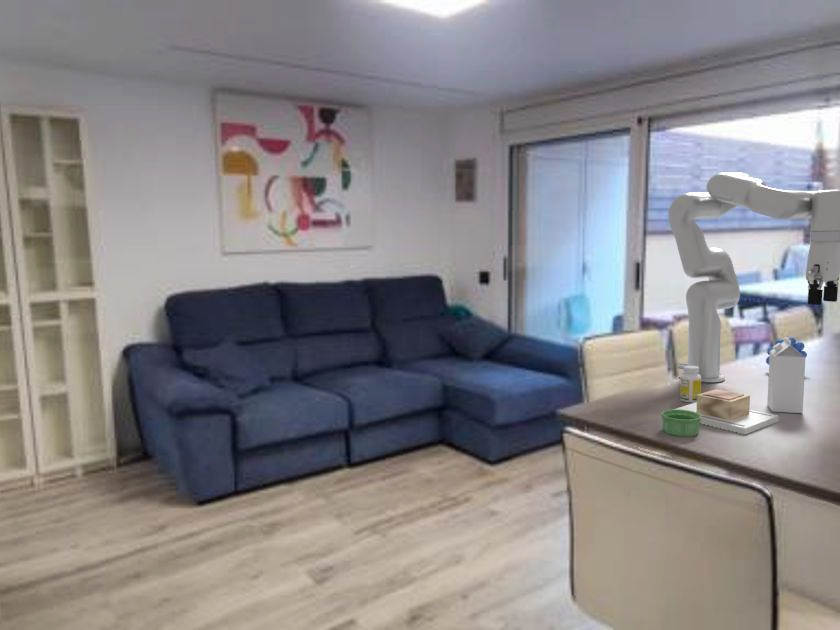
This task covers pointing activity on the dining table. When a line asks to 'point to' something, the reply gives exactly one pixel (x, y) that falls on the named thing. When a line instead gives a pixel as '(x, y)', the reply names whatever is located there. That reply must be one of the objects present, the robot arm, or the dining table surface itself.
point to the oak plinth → (723, 404)
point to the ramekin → (681, 422)
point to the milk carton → (786, 379)
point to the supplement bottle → (690, 384)
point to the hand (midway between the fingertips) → (822, 302)
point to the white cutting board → (736, 420)
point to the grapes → (797, 346)
